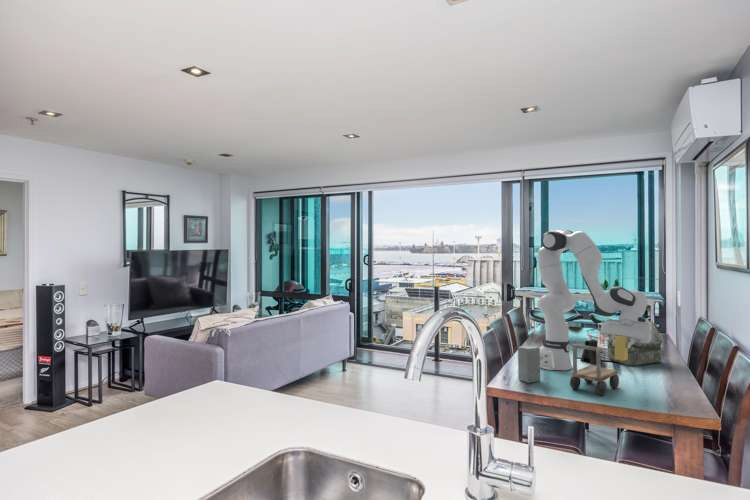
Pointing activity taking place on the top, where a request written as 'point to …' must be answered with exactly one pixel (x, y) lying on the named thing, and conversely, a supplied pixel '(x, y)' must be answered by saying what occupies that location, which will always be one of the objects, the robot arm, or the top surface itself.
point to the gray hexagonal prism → (529, 364)
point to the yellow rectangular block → (621, 348)
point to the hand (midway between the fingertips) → (620, 346)
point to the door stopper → (590, 353)
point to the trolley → (593, 372)
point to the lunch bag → (640, 350)
